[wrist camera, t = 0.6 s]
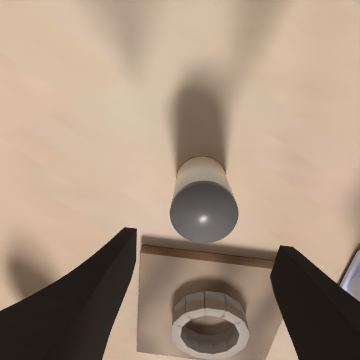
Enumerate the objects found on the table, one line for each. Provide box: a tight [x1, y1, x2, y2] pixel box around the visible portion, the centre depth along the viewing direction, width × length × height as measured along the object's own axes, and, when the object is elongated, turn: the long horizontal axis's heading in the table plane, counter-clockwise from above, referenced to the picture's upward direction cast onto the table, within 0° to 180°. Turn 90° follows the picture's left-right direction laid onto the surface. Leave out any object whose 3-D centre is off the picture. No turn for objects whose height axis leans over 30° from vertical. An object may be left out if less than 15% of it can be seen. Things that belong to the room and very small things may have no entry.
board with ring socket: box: [137, 245, 283, 360], centre depth 24 cm, size 16×16×3 cm
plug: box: [170, 157, 238, 243], centre depth 17 cm, size 4×4×6 cm
